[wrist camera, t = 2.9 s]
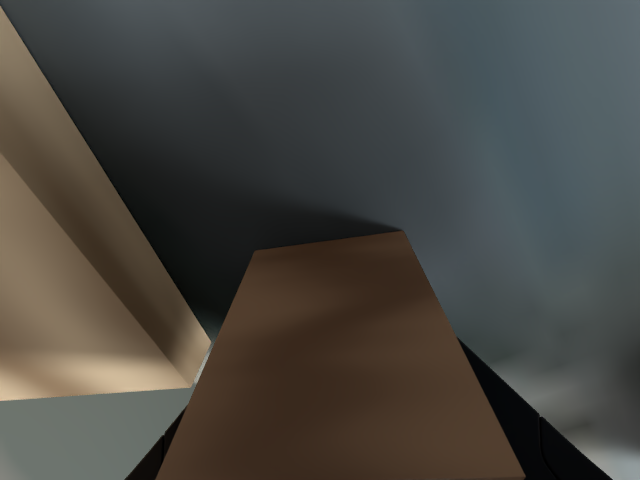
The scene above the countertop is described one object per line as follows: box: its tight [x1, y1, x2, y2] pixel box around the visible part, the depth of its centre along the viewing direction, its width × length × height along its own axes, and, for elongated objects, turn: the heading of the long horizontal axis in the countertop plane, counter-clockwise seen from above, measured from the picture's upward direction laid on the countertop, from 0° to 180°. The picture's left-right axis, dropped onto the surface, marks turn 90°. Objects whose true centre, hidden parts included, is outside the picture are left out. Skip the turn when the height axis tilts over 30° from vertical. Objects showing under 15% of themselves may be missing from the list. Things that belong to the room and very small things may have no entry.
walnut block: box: [155, 231, 526, 480], centre depth 7 cm, size 5×5×6 cm
